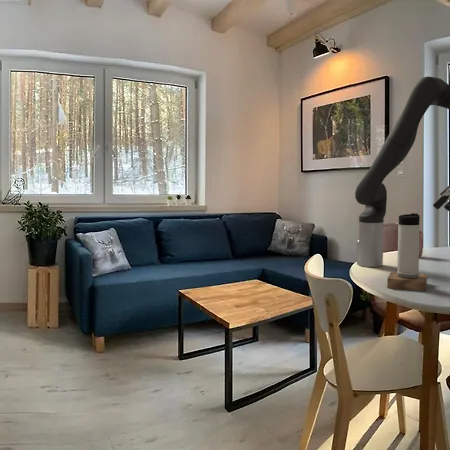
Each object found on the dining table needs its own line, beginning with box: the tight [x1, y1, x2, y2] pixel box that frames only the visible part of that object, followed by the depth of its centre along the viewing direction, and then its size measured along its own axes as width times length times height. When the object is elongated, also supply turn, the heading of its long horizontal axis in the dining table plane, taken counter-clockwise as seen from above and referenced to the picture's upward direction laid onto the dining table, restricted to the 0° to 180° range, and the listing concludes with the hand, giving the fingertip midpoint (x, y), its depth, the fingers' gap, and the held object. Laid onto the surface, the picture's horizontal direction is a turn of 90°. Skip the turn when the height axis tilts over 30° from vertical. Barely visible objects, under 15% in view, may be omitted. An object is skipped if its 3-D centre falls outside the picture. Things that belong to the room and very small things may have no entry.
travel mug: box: [396, 212, 421, 278], centre depth 145 cm, size 6×7×20 cm
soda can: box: [419, 228, 424, 258], centre depth 199 cm, size 7×7×12 cm
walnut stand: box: [386, 271, 428, 292], centre depth 146 cm, size 11×11×3 cm
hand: (440, 208), depth 143 cm, fingers open, 8 cm apart
